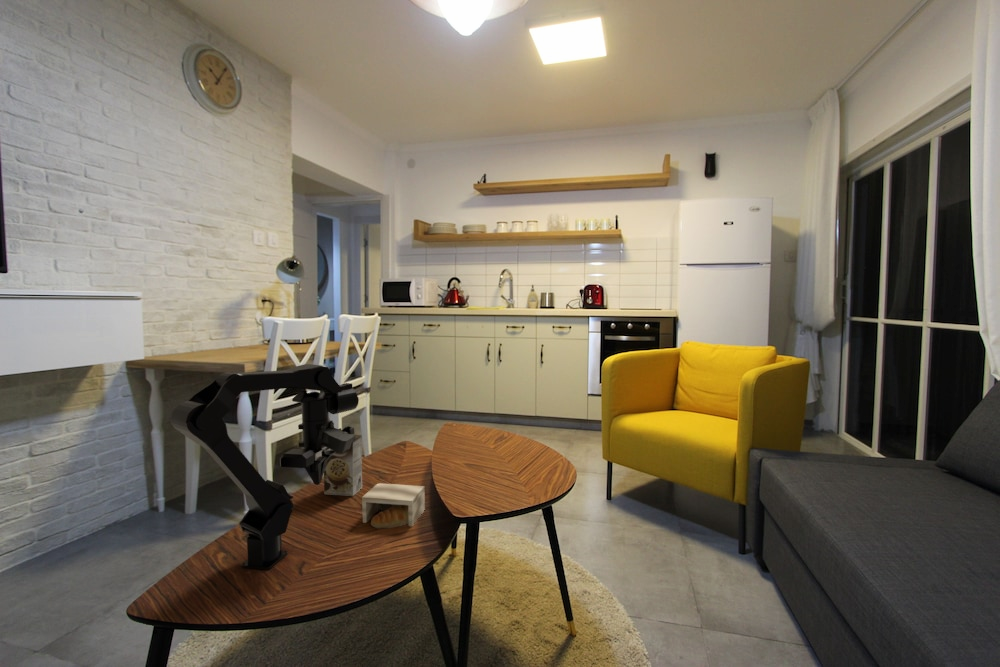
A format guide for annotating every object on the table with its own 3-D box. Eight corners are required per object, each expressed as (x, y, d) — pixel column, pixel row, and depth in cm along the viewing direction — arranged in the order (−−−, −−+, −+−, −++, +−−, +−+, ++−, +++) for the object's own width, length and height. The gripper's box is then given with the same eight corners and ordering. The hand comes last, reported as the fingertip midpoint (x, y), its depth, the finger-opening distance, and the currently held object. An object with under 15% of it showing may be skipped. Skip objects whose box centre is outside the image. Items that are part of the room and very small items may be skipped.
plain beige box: (412, 526, 109) (412, 500, 109) (362, 522, 111) (362, 497, 111) (424, 510, 118) (424, 486, 118) (378, 506, 120) (378, 483, 120)
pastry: (374, 534, 106) (373, 518, 106) (368, 522, 112) (367, 507, 112) (412, 524, 110) (412, 509, 110) (405, 514, 116) (404, 499, 116)
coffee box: (323, 495, 128) (321, 439, 127) (334, 486, 134) (333, 433, 133) (353, 496, 127) (352, 440, 126) (363, 487, 133) (362, 434, 132)
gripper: (325, 430, 94) (327, 503, 95) (366, 410, 112) (368, 471, 113) (277, 428, 96) (279, 500, 96) (325, 409, 114) (327, 469, 115)
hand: (317, 484), depth 105 cm, fingers closed
